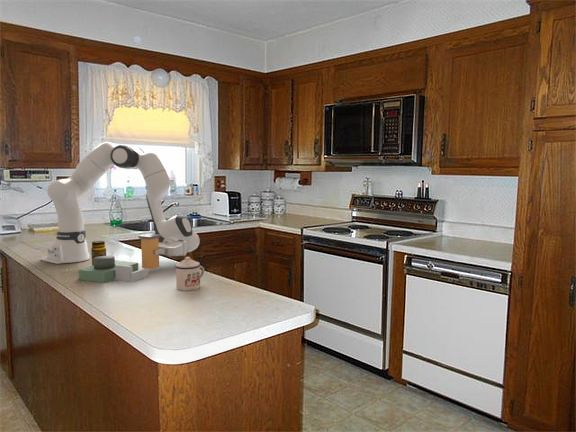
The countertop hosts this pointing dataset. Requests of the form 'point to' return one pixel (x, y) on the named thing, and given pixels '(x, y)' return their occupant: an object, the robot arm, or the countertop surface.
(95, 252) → the condiment
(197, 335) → the countertop surface
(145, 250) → the gray-capped orange pillar
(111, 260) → the green base with knob
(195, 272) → the teacup with lid
